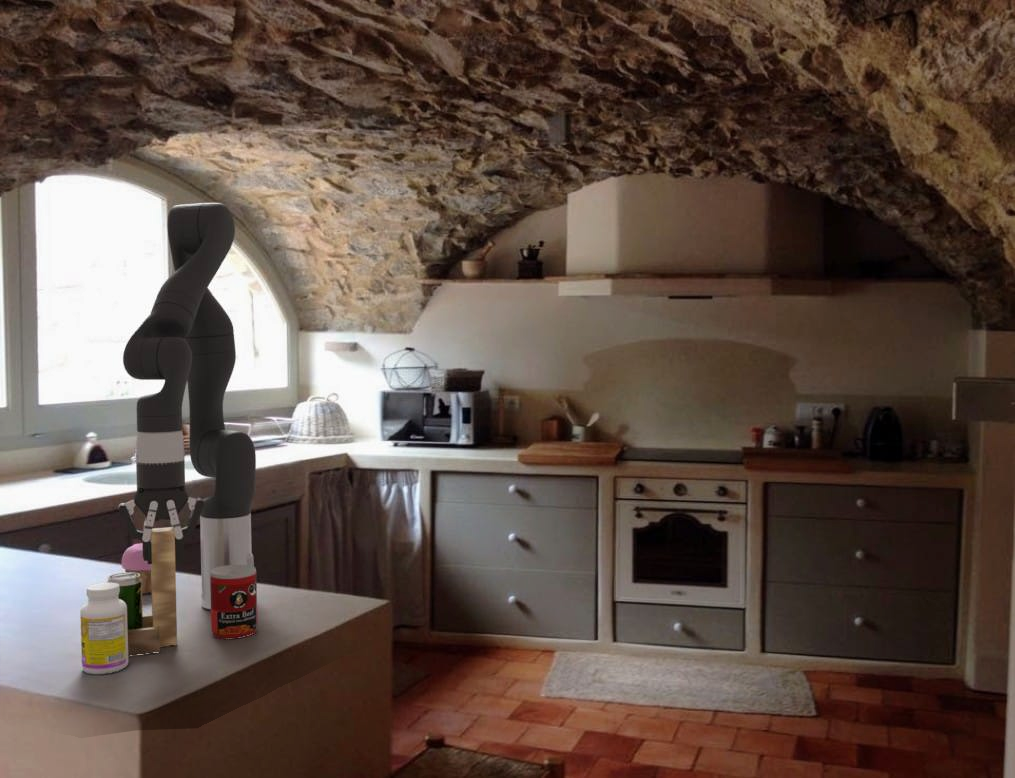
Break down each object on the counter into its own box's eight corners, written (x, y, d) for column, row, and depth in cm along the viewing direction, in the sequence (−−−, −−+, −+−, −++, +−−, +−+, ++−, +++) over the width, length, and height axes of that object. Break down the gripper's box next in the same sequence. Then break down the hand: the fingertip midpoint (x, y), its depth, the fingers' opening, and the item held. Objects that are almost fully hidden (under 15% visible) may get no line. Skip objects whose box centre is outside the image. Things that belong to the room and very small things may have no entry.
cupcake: (177, 590, 200) (176, 541, 199) (139, 600, 192) (138, 548, 192) (151, 584, 205) (149, 536, 204) (112, 593, 198) (111, 543, 197)
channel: (156, 636, 169) (156, 613, 169) (159, 652, 160) (159, 628, 160) (92, 643, 165) (92, 620, 165) (92, 660, 156) (91, 635, 156)
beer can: (112, 655, 159) (110, 581, 158) (104, 647, 163) (103, 574, 163) (147, 649, 162) (145, 576, 161) (138, 641, 166) (137, 570, 166)
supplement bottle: (90, 662, 156) (88, 581, 155) (133, 660, 157) (132, 580, 156) (75, 676, 149) (73, 592, 149) (121, 675, 150) (118, 591, 149)
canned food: (216, 642, 166) (215, 577, 165) (207, 629, 173) (205, 567, 172) (262, 635, 169) (261, 571, 169) (251, 623, 176) (250, 562, 176)
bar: (175, 638, 167) (173, 527, 166) (177, 645, 164) (174, 530, 163) (152, 641, 166) (150, 528, 165) (153, 647, 163) (151, 532, 162)
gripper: (203, 453, 169) (205, 553, 170) (113, 458, 164) (116, 561, 165) (207, 458, 163) (209, 563, 163) (114, 463, 157) (117, 571, 158)
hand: (162, 561), depth 164 cm, fingers closed on bar, 3 cm apart
